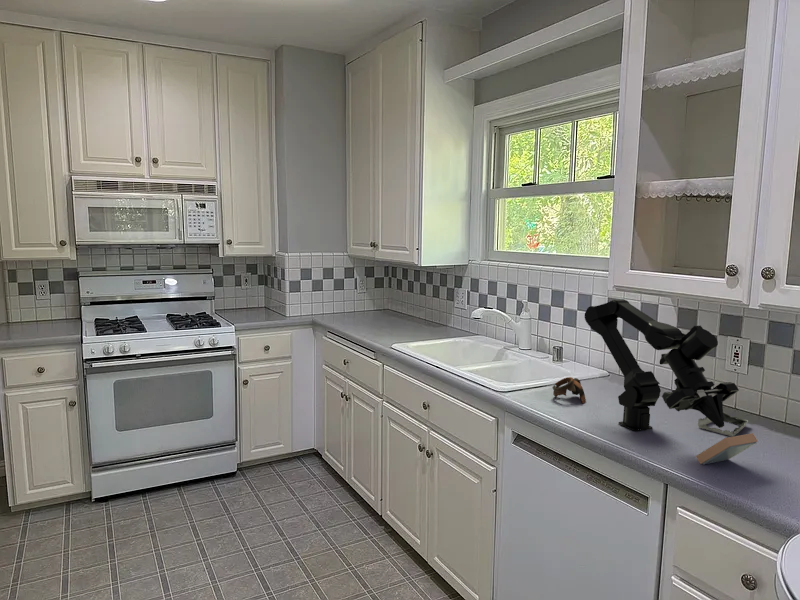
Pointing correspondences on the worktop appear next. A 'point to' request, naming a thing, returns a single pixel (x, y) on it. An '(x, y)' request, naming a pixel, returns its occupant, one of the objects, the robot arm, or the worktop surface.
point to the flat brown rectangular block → (727, 448)
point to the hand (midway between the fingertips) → (721, 426)
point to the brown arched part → (569, 388)
